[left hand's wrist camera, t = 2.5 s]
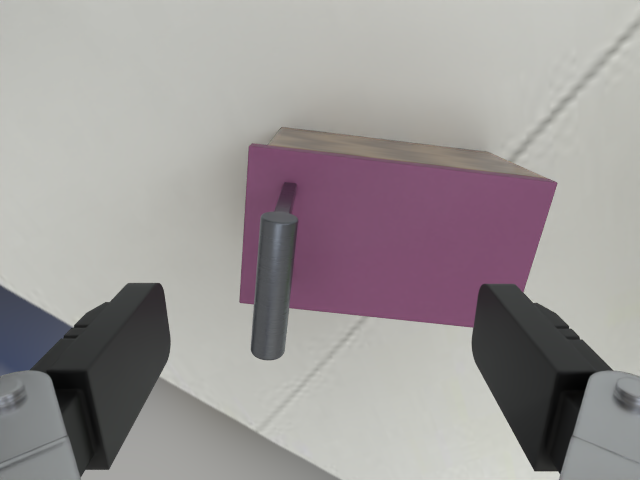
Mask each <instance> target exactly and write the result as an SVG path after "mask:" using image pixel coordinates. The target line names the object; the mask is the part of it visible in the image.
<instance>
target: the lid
mask: <svg viewBox="0 0 640 480" xmlns="http://www.w3.org/2000/svg"><path fill="white" fill-rule="evenodd" d="M556 186H557V182H555V181H552V180H550V179H546V178H538V177H529V176H521V175H512V174H504V173H496V172H487V171H479V170H471V169H462V168H454V167H446V166H437V165H429V164H420V163H412V162H404V161H395V160H387V159H379V158H370V157H362V156H354V155H345V154H337V153H329V152H320V151H312V150H303V149H295V148H287V147H278V146H270V145H262V144H253V143H252V144H251V145H250V146H249V153H248V170H247V186H246V203H245V219H244V236H243V252H242V269H241V285H240V303H246V304H254V312H253V326H252V339H251V352H252V354H253V355H254V356H255V357H257V358H259V359H262V360H275V359H278V358H280V357H281V356H282V355H283V354H284V351H285V342H286V333H287V323H288V314H289V308H294V309H303V310H313V311H322V312H332V313H341V314H351V315H360V316H370V317H379V318H389V319H398V320H407V321H417V322H426V323H436V324H445V325H455V326H464V327H474V320H475V313H476V306H477V299H478V292H479V289H480V287H481V285H482V284H515V285H516V286H517V287H518V288H519V289H520V290H521V291H522V292H524V288H525V285H526V282H527V279H528V276H529V272H530V269H531V266H532V263H533V260H534V256H535V253H536V250H537V247H538V244H539V240H540V237H541V234H542V231H543V228H544V224H545V221H546V218H547V215H548V212H549V208H550V205H551V202H552V199H553V196H554V192H555V189H556Z"/></svg>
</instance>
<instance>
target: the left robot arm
mask: <svg viewBox="0 0 640 480" xmlns="http://www.w3.org/2000/svg"><path fill="white" fill-rule="evenodd" d="M472 352H473V357H474V360H475V363H476V365H477V367H478V368H479V370H480V372H481V374H482V376H483V378H484V379H485V381H486V383H487V385H488V387H489V389H490V390H491V392H492V394H493V396H494V398H495V400H496V401H497V403H498V405H499V407H500V409H501V411H502V412H503V414H504V416H505V418H506V420H507V422H508V423H509V425H510V427H511V429H512V431H513V433H514V434H515V436H516V438H517V440H518V442H519V444H520V445H521V447H522V449H523V451H524V453H525V455H526V456H527V458H528V460H529V462H530V464H531V466H532V467H533V469H534V471H559V473H560V478H559V480H640V376H637V375H634V374H630V373H626V372H621V371H613V370H612V369H611V368H610V367H609V366H608V365H607V364H606V363H605V362H604V361H603V360H602V359H601V358H600V357H599V356H598V355H597V354H596V353H595V352H594V351H593V350H592V349H591V348H590V347H589V346H588V345H587V344H586V343H585V342H584V341H583V340H580V338H579V336H578V335H577V334H576V333H575V332H574V331H573V330H572V329H569V326H568V325H567V324H566V323H565V322H564V321H563V320H562V319H561V318H560V317H559V316H558V315H557V314H556V313H554V312H552V311H551V310H549V309H547V308H545V307H543V306H542V305H540V304H538V303H533V302H532V301H531V300H530V299H529V298H528V297H527V296H526V295H525V294H524V293H523V292H522V291H521V290H520V289H519V288H518V287H517V286H516V285H515V284H482V285H481V287H480V289H479V292H478V299H477V306H476V313H475V320H474V327H473V334H472ZM169 353H170V331H169V324H168V317H167V310H166V302H165V295H164V290H163V287H162V285H161V284H160V283H128V284H127V285H125V287H124V288H123V289H122V290H121V291H120V292H119V293H118V294H117V295H116V296H115V297H114V298H113V299H112V300H111V302H105V303H103V304H102V305H100V306H98V307H96V308H94V309H93V310H91V311H89V312H87V313H86V314H85V315H84V316H83V317H82V318H81V319H80V320H79V321H78V322H77V323H76V324H75V325H74V328H71V329H70V330H69V331H68V332H67V333H66V334H65V335H64V338H63V339H60V340H59V341H58V342H57V343H56V344H55V345H54V346H53V347H52V348H51V349H50V350H49V351H48V352H47V353H46V354H45V355H44V356H43V357H42V358H41V359H40V360H39V361H38V362H37V363H36V364H35V365H34V366H33V367H32V368H31V369H30V370H29V371H19V372H14V373H10V374H7V375H3V376H0V480H81V476H82V474H83V473H84V471H85V470H109V468H110V467H111V465H112V463H113V461H114V459H115V457H116V455H117V454H118V452H119V450H120V448H121V446H122V444H123V442H124V441H125V439H126V437H127V435H128V433H129V431H130V429H131V428H132V426H133V424H134V422H135V420H136V418H137V417H138V415H139V413H140V411H141V409H142V407H143V405H144V403H145V402H146V400H147V398H148V396H149V394H150V392H151V391H152V389H153V387H154V385H155V383H156V381H157V379H158V378H159V376H160V374H161V372H162V370H163V368H164V366H165V365H166V363H167V360H168V357H169Z"/></svg>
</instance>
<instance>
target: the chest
mask: <svg viewBox="0 0 640 480" xmlns="http://www.w3.org/2000/svg"><path fill="white" fill-rule="evenodd" d="M268 145H270V146H278V147H287V148H295V149H303V150H312V151H320V152H329V153H337V154H345V155H354V156H362V157H370V158H379V159H387V160H395V161H404V162H412V163H420V164H429V165H437V166H446V167H454V168H462V169H471V170H479V171H487V172H496V173H504V174H512V175H521V176H529V177H538V178H545V177H543V176H541V175H538V174H536V173H534V172H532V171H529V170H527V169H525V168H523V167H520V166H518V165H516V164H514V163H511V162H509V161H507V160H505V159H503V158H500V157H498V156H496V155H494V154H491V153H489V152H483V151H475V150H466V149H458V148H450V147H442V146H434V145H425V144H417V143H409V142H401V141H392V140H384V139H376V138H368V137H359V136H351V135H343V134H335V133H326V132H318V131H310V130H302V129H293V128H285V127H281V129H280V130H279V131H278V133H277V134H276V135H275V136H274V138H273V139H272V140H271V141H270V143H269V144H268ZM546 179H547V178H546Z"/></svg>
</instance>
